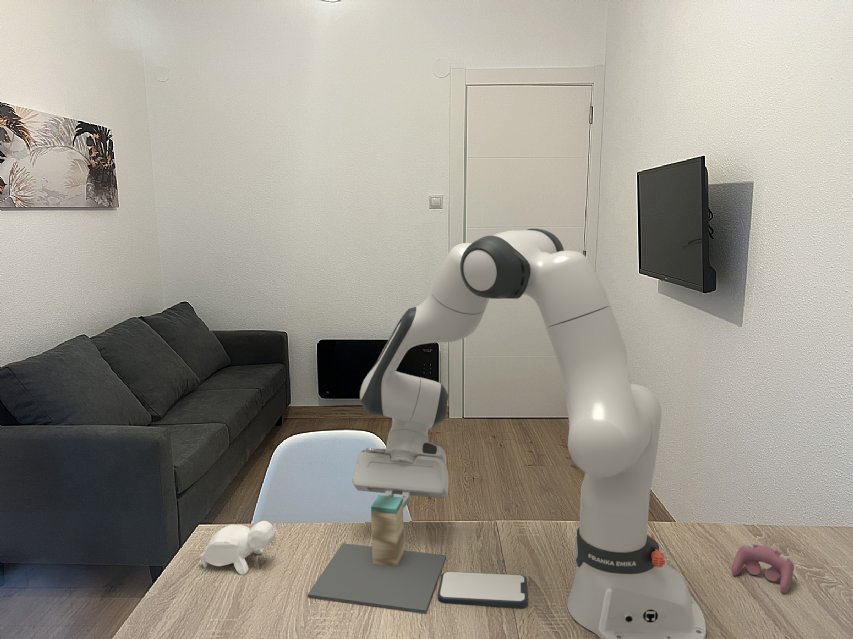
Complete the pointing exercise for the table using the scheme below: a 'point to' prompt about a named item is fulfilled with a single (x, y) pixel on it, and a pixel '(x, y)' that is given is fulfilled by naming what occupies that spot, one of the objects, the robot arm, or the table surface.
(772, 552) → the video game controller
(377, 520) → the birch block
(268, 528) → the white tortoise figurine
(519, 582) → the smartphone
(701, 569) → the table surface
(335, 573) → the rubber mat
